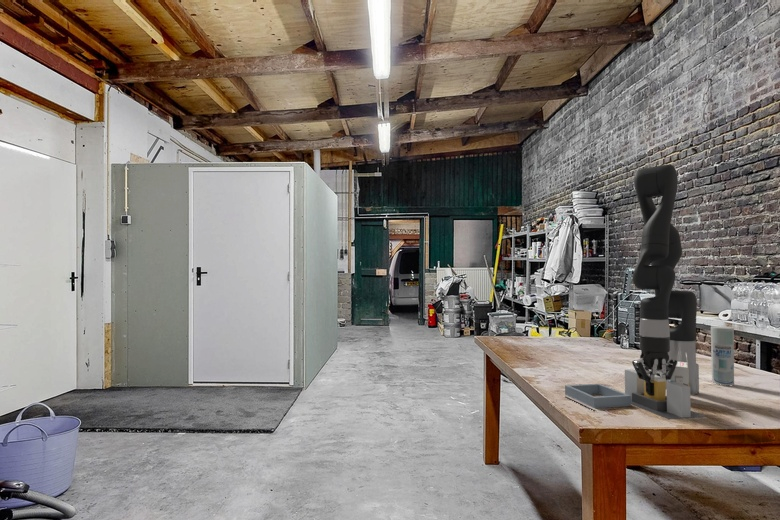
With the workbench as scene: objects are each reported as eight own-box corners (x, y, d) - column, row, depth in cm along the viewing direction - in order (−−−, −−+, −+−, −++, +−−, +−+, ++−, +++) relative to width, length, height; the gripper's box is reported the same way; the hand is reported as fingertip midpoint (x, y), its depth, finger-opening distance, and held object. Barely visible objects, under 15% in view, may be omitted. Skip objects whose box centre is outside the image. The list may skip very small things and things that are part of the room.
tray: (599, 395, 139) (599, 383, 140) (631, 409, 126) (631, 395, 126) (565, 397, 137) (564, 385, 137) (594, 411, 123) (594, 398, 124)
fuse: (651, 400, 129) (652, 373, 129) (665, 406, 124) (665, 378, 124) (643, 401, 129) (644, 374, 129) (657, 407, 124) (658, 378, 124)
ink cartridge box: (669, 398, 137) (668, 350, 138) (688, 400, 135) (687, 352, 135) (669, 404, 130) (668, 355, 130) (689, 407, 127) (689, 356, 128)
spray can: (733, 383, 156) (732, 326, 156) (735, 387, 150) (734, 328, 151) (710, 380, 159) (710, 325, 160) (712, 384, 154) (711, 327, 154)
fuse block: (644, 397, 138) (643, 368, 138) (707, 420, 117) (706, 386, 117) (610, 399, 136) (610, 369, 136) (668, 423, 114) (668, 388, 114)
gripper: (664, 332, 132) (665, 390, 131) (623, 333, 129) (624, 392, 129) (685, 335, 124) (686, 397, 124) (643, 336, 122) (644, 399, 121)
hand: (655, 394), depth 126 cm, fingers closed on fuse, 2 cm apart
